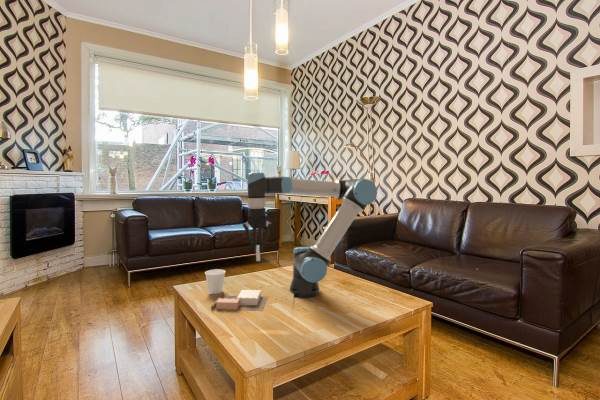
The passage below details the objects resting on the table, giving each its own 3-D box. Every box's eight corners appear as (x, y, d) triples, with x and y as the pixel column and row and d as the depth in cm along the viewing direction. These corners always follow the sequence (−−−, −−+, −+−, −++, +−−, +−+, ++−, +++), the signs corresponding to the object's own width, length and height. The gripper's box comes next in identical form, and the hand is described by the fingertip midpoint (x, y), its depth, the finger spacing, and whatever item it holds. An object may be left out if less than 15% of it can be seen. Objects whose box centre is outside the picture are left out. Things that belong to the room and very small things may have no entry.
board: (268, 299, 151) (268, 293, 151) (262, 313, 134) (262, 307, 134) (222, 298, 152) (222, 292, 152) (211, 312, 135) (211, 306, 135)
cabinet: (239, 305, 140) (239, 298, 140) (237, 309, 135) (237, 302, 135) (219, 304, 140) (219, 297, 140) (216, 309, 135) (216, 302, 135)
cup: (220, 298, 152) (220, 275, 151) (201, 296, 154) (201, 274, 153) (228, 291, 161) (228, 269, 161) (210, 289, 163) (210, 268, 163)
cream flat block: (260, 296, 151) (260, 290, 151) (257, 305, 140) (257, 298, 140) (242, 296, 152) (242, 289, 151) (236, 304, 141) (236, 297, 140)
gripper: (272, 206, 145) (273, 257, 146) (243, 207, 144) (244, 258, 146) (271, 208, 137) (272, 262, 139) (240, 208, 137) (242, 262, 138)
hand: (258, 260), depth 142 cm, fingers closed
